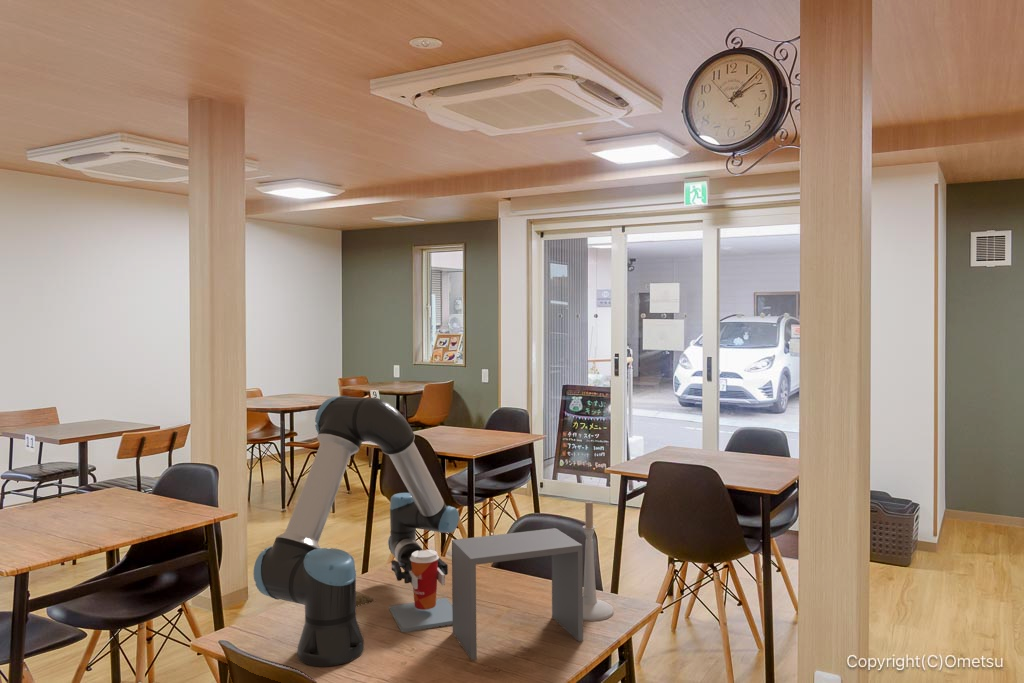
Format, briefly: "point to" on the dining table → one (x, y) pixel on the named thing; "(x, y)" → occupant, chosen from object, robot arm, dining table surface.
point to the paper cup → (425, 578)
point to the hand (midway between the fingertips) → (429, 581)
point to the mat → (422, 615)
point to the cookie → (362, 599)
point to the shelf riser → (512, 548)
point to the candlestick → (592, 575)
